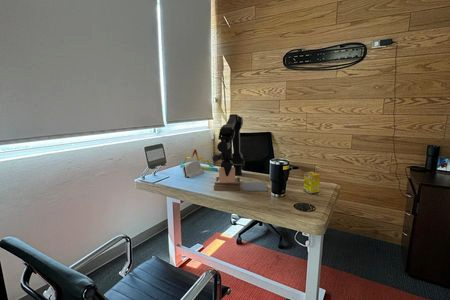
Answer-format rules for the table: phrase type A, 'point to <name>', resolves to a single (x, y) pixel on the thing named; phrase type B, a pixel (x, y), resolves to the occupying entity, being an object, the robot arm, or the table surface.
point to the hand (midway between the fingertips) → (227, 175)
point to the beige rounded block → (192, 169)
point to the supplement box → (311, 182)
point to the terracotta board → (226, 178)
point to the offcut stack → (232, 182)
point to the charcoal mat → (254, 186)
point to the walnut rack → (227, 185)
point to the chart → (205, 168)
